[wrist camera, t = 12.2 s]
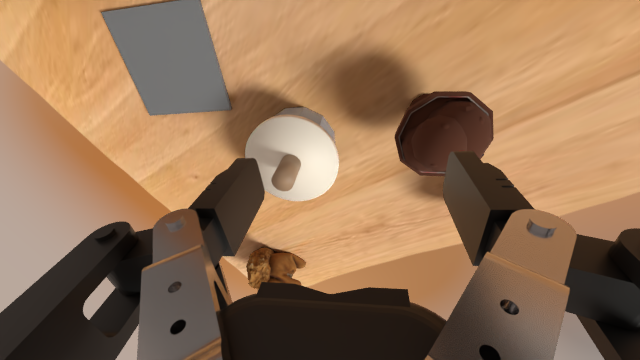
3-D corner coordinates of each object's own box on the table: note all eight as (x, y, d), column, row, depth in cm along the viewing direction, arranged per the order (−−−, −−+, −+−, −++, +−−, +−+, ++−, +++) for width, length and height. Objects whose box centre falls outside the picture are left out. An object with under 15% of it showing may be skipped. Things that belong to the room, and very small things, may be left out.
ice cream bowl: (397, 153, 43) (412, 211, 30) (382, 86, 37) (392, 125, 25) (467, 135, 40) (516, 193, 27) (462, 61, 34) (519, 90, 22)
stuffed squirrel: (285, 280, 66) (270, 334, 55) (242, 250, 62) (216, 301, 51) (312, 265, 62) (302, 320, 51) (267, 231, 57) (245, 283, 46)
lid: (236, 117, 37) (216, 135, 31) (334, 111, 34) (330, 128, 29) (260, 197, 44) (246, 221, 39) (342, 196, 42) (339, 222, 37)
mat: (104, 12, 37) (100, 12, 36) (199, -3, 34) (197, -3, 34) (152, 114, 45) (149, 115, 44) (232, 108, 42) (230, 109, 42)
